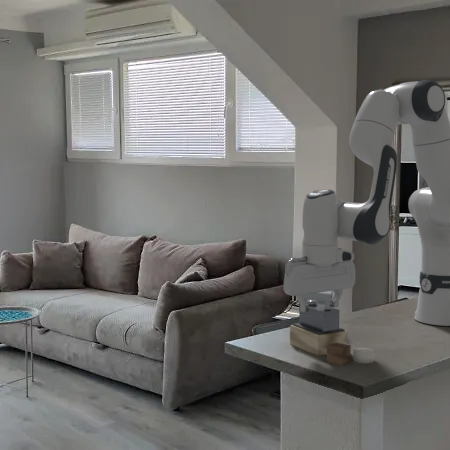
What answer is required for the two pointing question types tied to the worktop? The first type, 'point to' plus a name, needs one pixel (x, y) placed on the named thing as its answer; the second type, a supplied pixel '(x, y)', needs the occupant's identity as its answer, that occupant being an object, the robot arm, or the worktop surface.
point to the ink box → (320, 297)
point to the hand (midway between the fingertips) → (319, 309)
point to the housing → (320, 317)
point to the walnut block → (338, 353)
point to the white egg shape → (363, 355)
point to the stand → (315, 338)
